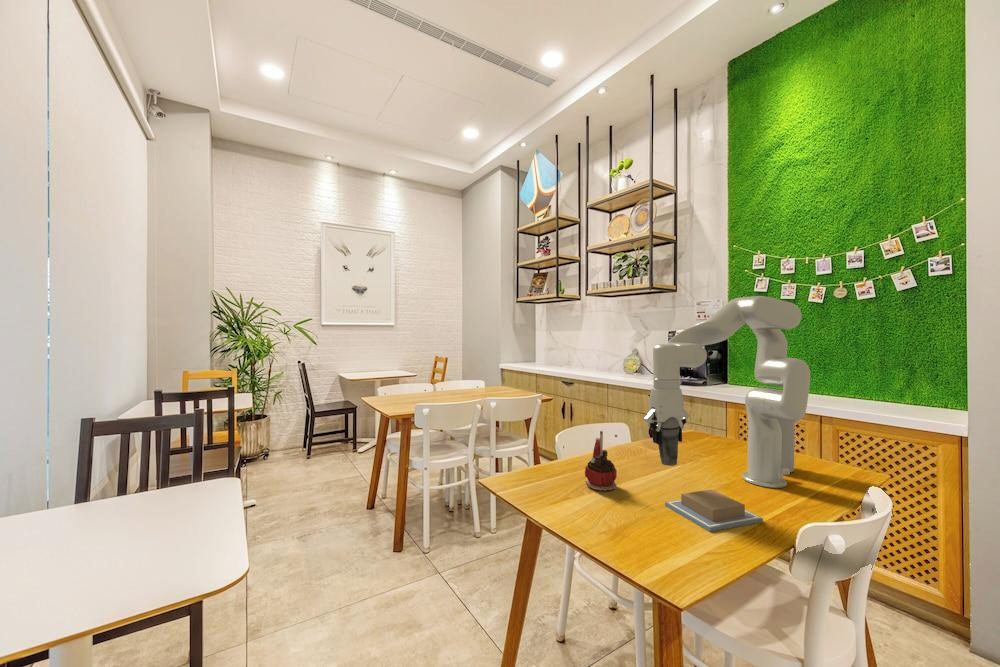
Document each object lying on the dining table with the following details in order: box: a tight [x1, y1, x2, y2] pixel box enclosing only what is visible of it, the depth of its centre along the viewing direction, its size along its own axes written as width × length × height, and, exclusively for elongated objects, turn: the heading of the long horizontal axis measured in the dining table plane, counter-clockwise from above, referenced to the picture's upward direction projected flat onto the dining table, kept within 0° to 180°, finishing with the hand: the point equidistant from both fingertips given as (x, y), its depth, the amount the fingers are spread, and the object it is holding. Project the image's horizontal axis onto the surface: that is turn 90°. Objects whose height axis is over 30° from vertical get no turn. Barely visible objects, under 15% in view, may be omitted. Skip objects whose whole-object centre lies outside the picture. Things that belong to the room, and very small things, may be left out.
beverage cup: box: [656, 417, 680, 467], centre depth 124 cm, size 7×7×20 cm
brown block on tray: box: [664, 489, 764, 533], centre depth 112 cm, size 18×16×4 cm
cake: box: [584, 430, 618, 491], centre depth 131 cm, size 11×9×18 cm
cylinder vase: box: [777, 419, 796, 473], centre depth 150 cm, size 12×12×25 cm
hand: (667, 441), depth 124 cm, fingers closed on beverage cup, 6 cm apart
